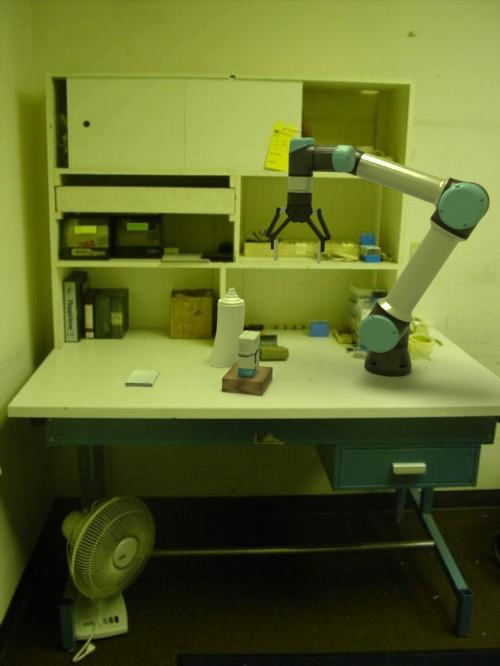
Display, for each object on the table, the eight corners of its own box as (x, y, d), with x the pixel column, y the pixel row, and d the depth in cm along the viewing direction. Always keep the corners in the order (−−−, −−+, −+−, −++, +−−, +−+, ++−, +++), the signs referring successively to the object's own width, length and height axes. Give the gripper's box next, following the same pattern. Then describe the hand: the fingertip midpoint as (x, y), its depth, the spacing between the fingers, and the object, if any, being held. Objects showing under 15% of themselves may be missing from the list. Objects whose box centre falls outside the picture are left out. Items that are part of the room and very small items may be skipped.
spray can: (217, 355, 211) (217, 283, 204) (247, 358, 208) (248, 286, 201) (205, 365, 200) (205, 290, 193) (237, 369, 197) (238, 293, 191)
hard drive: (152, 383, 180) (160, 369, 192) (124, 382, 181) (134, 368, 193) (152, 388, 181) (160, 374, 193) (125, 387, 181) (134, 373, 193)
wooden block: (272, 379, 189) (272, 367, 188) (262, 395, 176) (262, 382, 175) (234, 375, 192) (234, 363, 190) (221, 391, 178) (222, 378, 177)
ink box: (253, 378, 178) (254, 339, 175) (237, 376, 179) (237, 337, 176) (260, 368, 186) (261, 331, 183) (244, 367, 187) (244, 330, 184)
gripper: (342, 192, 186) (338, 262, 191) (262, 189, 191) (260, 257, 197) (340, 193, 179) (335, 265, 184) (256, 190, 184) (255, 261, 190)
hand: (296, 261), depth 191 cm, fingers open, 13 cm apart
